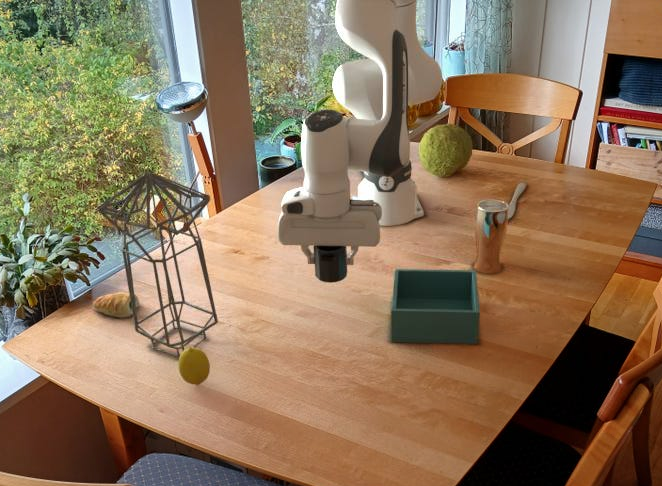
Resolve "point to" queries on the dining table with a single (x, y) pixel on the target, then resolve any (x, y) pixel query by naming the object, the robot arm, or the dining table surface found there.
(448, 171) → the fruit
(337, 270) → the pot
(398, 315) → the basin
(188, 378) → the lemon
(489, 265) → the beer glass
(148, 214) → the geometric lantern
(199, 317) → the dining table surface
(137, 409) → the dining table surface
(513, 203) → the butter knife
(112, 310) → the pastry
